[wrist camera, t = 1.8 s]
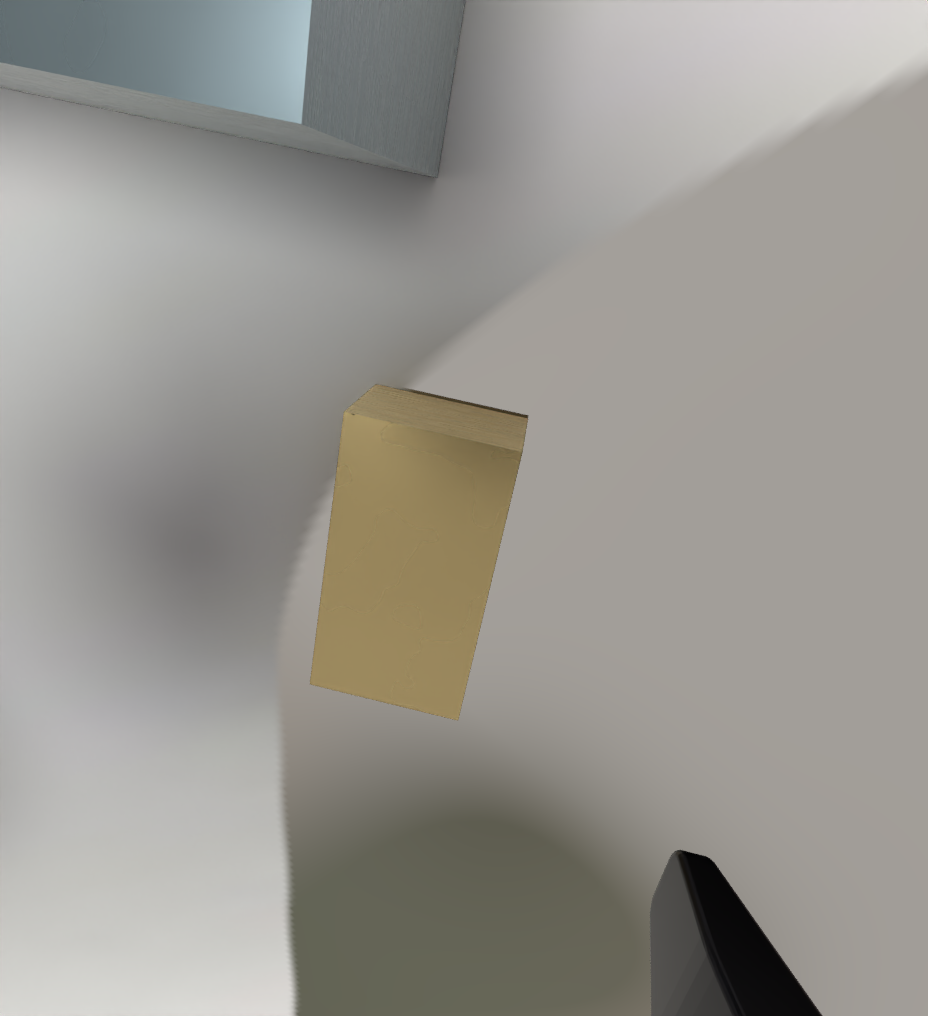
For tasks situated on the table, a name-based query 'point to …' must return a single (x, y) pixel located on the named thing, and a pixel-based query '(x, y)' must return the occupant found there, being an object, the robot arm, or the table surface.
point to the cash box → (251, 68)
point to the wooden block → (413, 545)
